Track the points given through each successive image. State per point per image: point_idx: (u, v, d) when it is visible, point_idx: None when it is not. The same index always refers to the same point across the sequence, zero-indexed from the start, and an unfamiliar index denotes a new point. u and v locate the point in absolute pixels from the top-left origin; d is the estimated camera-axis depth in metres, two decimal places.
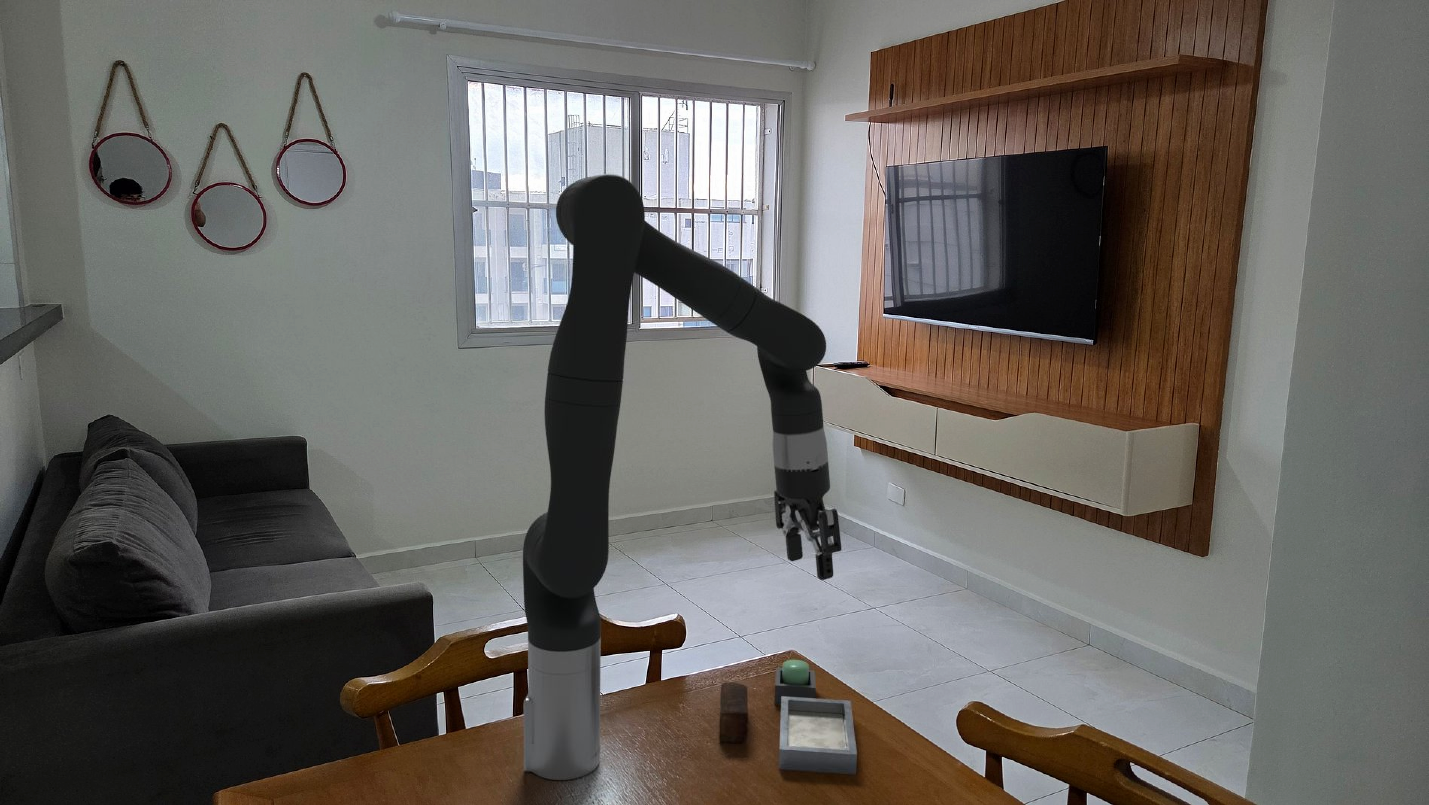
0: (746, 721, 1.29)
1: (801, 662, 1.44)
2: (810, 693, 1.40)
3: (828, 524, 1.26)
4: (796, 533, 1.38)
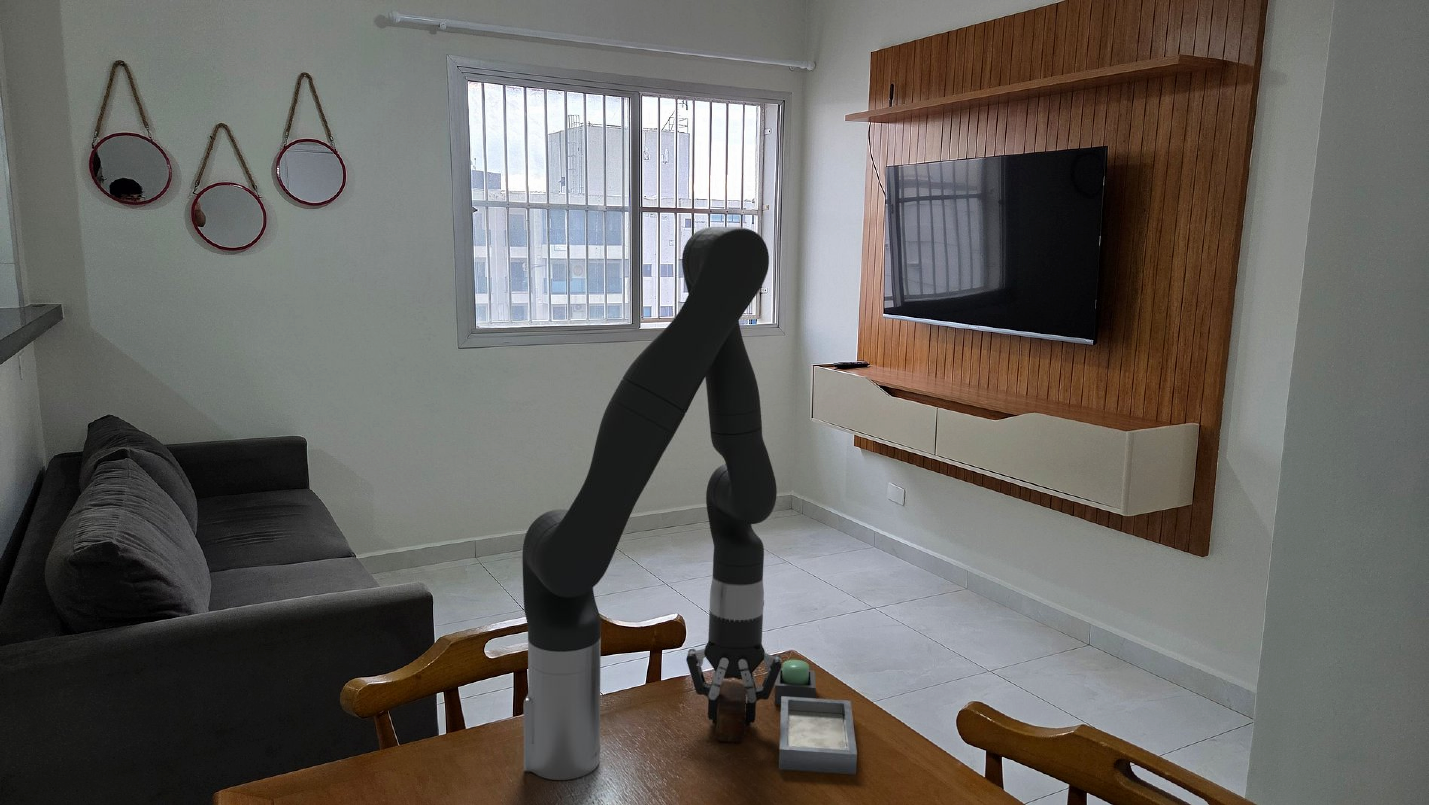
0: (743, 720, 1.29)
1: (801, 662, 1.44)
2: (810, 693, 1.40)
3: None
4: None
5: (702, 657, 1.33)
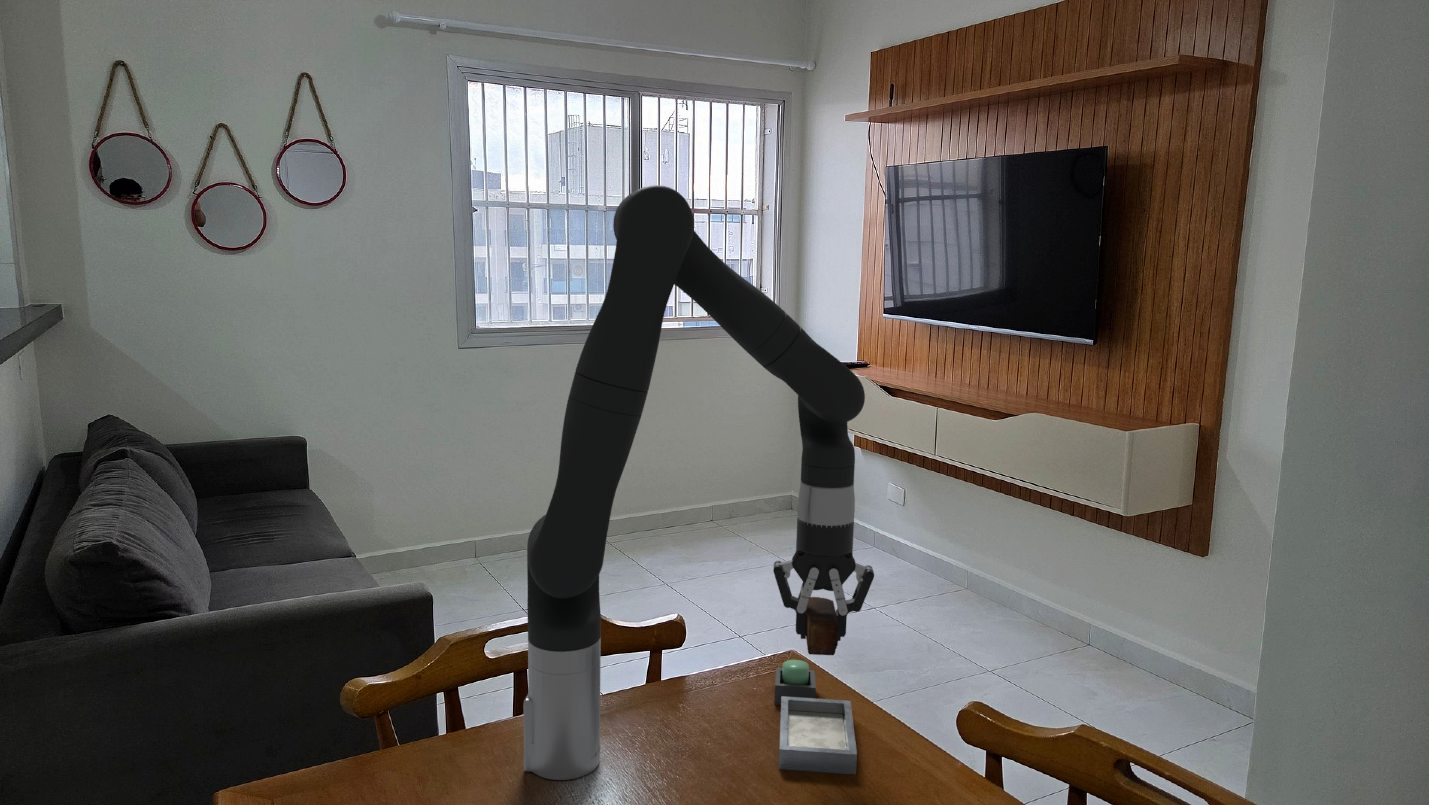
0: (836, 631, 1.22)
1: (801, 662, 1.44)
2: (810, 693, 1.40)
3: None
4: None
5: (790, 568, 1.26)
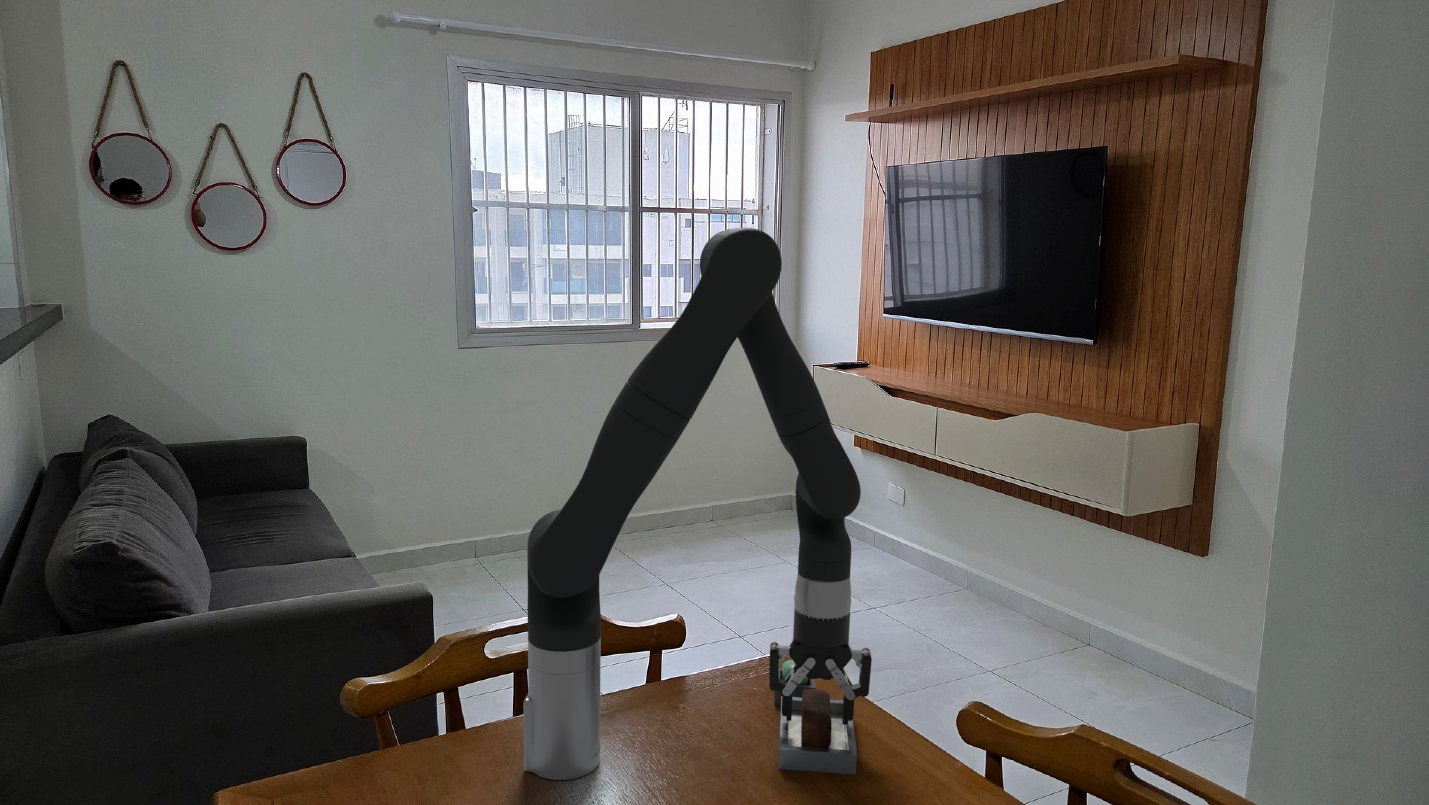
0: (830, 730, 1.24)
1: None
2: None
3: None
4: None
5: (785, 654, 1.28)
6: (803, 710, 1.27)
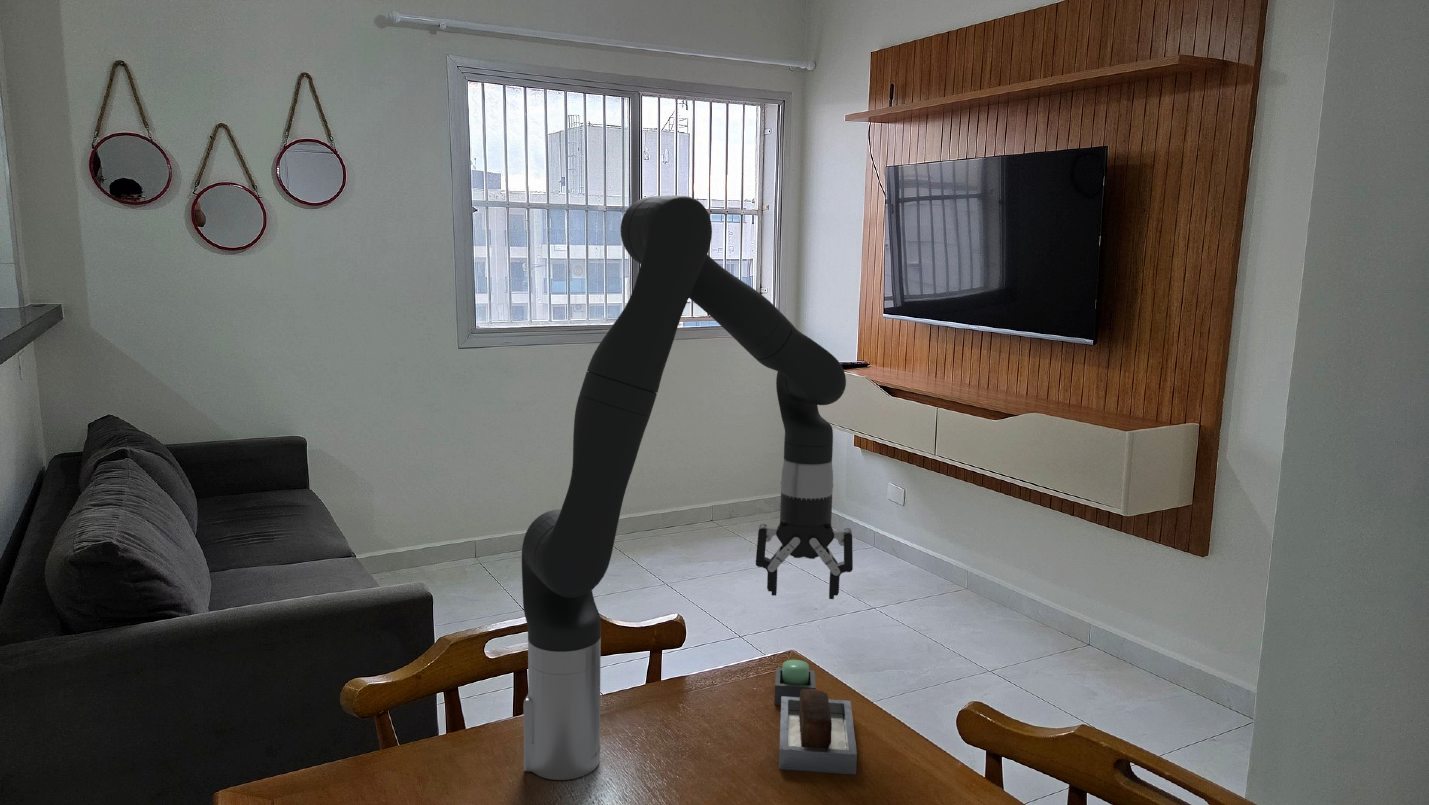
0: (830, 729, 1.24)
1: (801, 662, 1.44)
2: None
3: None
4: None
5: (773, 534, 1.39)
6: (802, 710, 1.27)
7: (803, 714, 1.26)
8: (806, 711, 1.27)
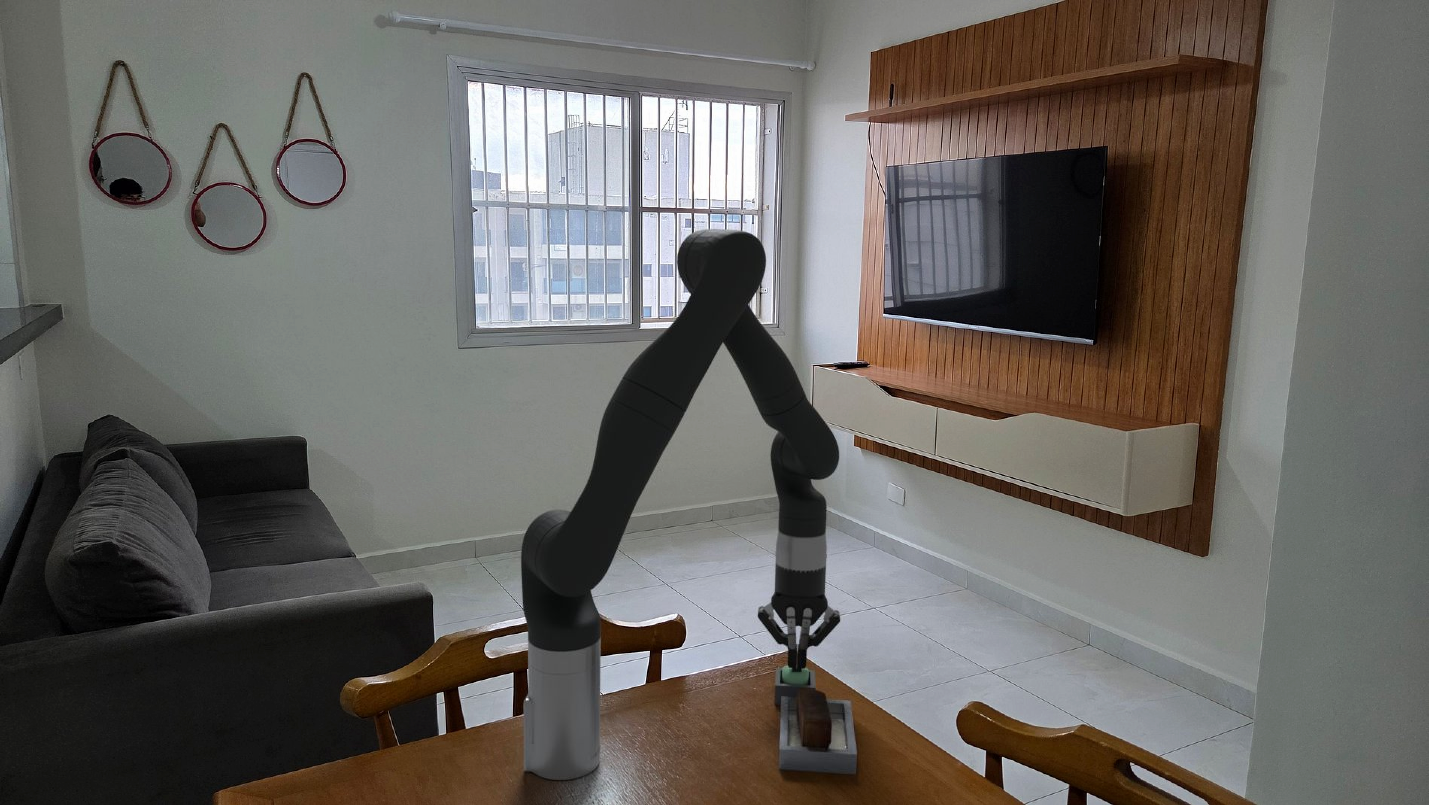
0: (830, 729, 1.25)
1: None
2: None
3: None
4: None
5: (771, 610, 1.42)
6: (802, 710, 1.27)
7: (803, 714, 1.26)
8: (806, 711, 1.27)
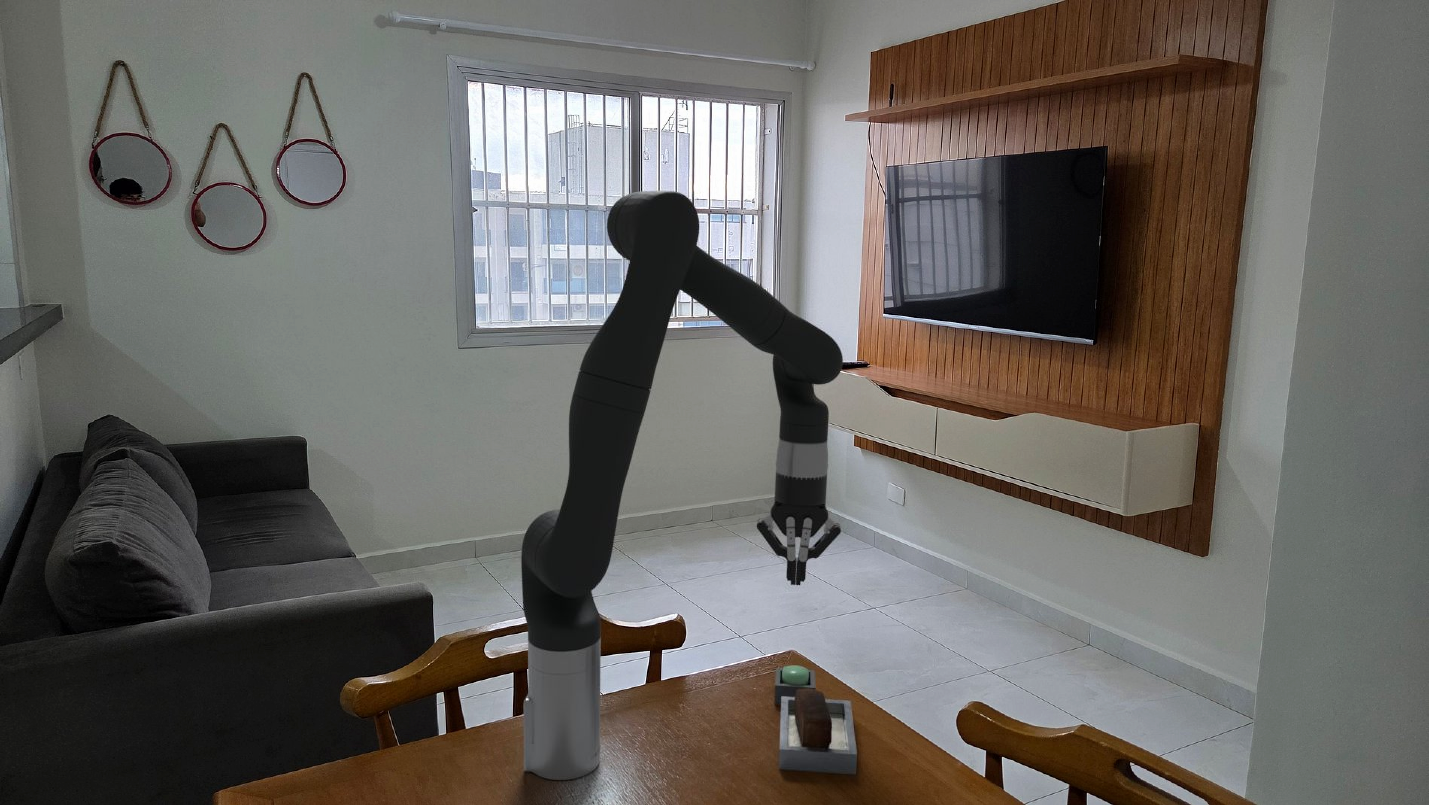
0: (830, 729, 1.25)
1: (801, 668, 1.44)
2: None
3: None
4: None
5: (771, 521, 1.39)
6: (801, 710, 1.27)
7: (803, 714, 1.26)
8: (805, 711, 1.27)
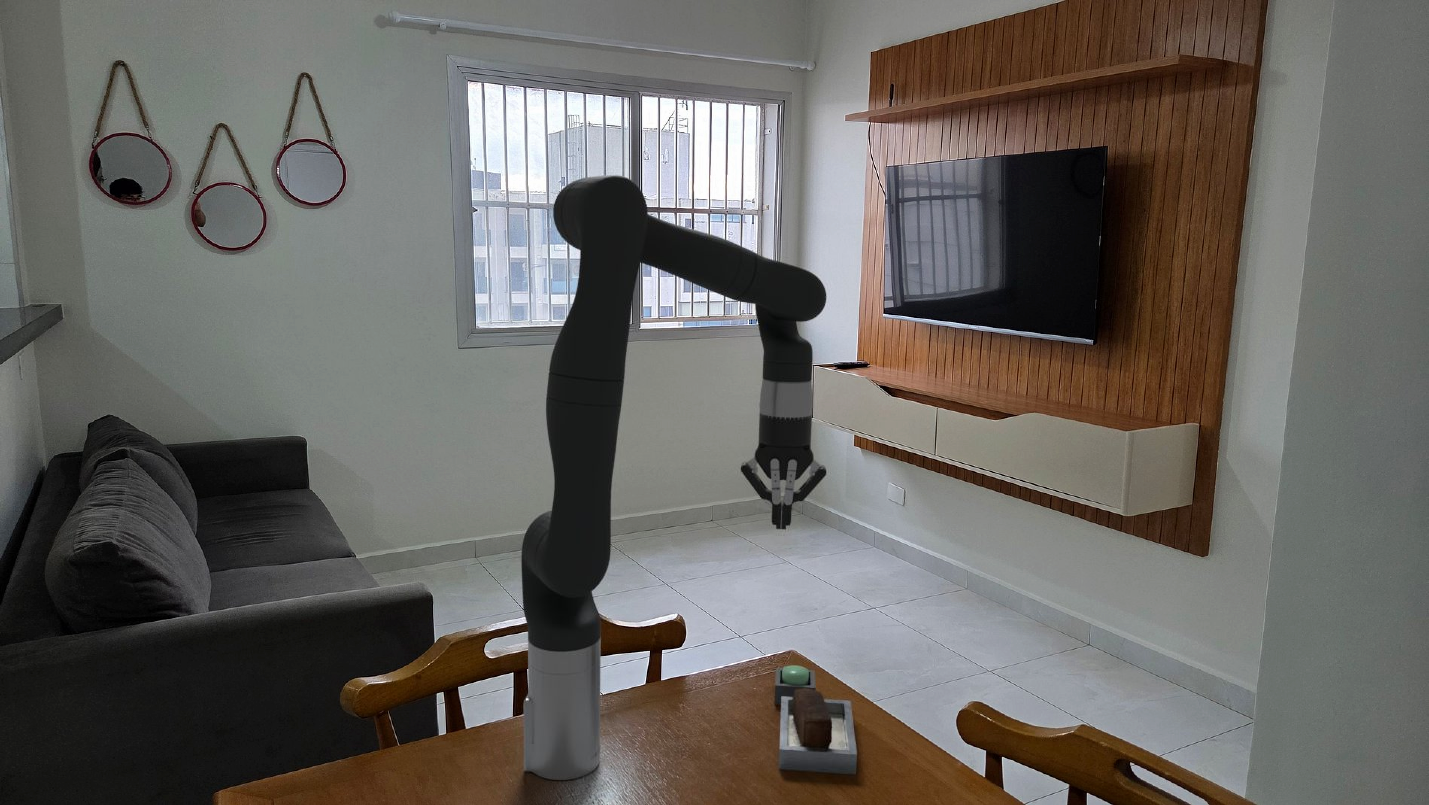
0: (831, 728, 1.25)
1: (801, 668, 1.44)
2: None
3: None
4: None
5: (755, 464, 1.36)
6: (801, 710, 1.27)
7: (803, 714, 1.26)
8: (805, 711, 1.27)
